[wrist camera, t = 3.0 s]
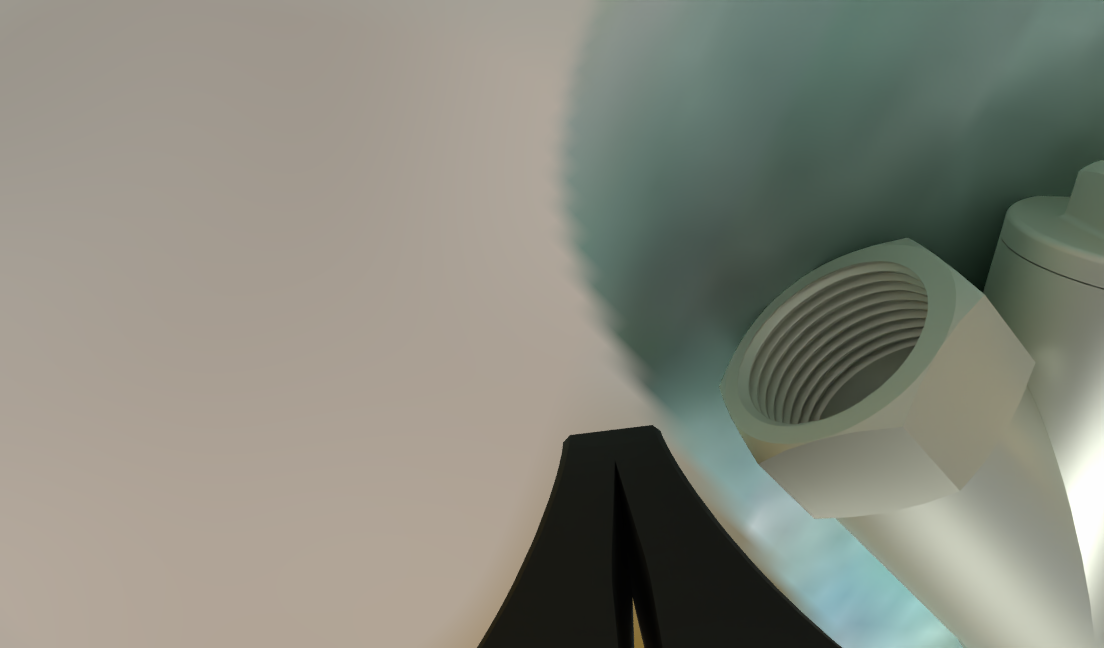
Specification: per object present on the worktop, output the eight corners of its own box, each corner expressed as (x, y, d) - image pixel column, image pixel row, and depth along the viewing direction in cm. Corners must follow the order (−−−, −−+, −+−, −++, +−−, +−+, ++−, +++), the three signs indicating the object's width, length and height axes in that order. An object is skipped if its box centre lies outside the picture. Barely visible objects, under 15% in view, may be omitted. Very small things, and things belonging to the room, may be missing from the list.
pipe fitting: (1073, 45, 11) (697, 350, 13) (1337, 100, 8) (775, 505, 9) (1274, 391, 14) (947, 602, 16) (1533, 543, 11) (1076, 792, 12)
